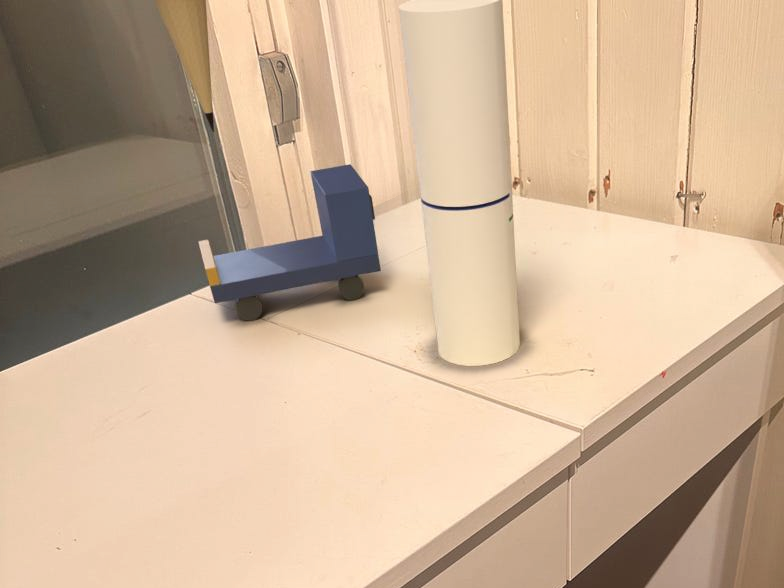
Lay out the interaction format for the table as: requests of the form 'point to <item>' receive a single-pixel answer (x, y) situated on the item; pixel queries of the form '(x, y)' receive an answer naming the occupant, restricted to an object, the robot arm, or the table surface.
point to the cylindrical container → (464, 173)
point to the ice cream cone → (191, 44)
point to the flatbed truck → (305, 249)
